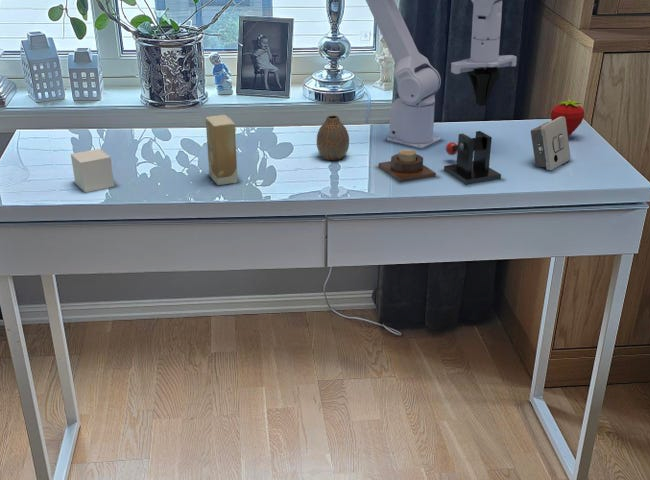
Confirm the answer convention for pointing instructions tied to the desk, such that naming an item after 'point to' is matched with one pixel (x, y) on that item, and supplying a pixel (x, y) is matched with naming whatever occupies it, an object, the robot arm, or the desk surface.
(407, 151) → the button
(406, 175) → the control block
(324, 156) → the vase
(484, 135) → the black lever base
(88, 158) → the beige cube
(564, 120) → the electrical switch
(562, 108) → the strawberry
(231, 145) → the cosmetic box
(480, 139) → the red knob lever
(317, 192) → the desk surface
